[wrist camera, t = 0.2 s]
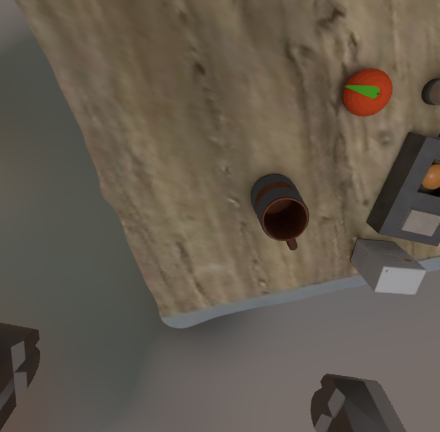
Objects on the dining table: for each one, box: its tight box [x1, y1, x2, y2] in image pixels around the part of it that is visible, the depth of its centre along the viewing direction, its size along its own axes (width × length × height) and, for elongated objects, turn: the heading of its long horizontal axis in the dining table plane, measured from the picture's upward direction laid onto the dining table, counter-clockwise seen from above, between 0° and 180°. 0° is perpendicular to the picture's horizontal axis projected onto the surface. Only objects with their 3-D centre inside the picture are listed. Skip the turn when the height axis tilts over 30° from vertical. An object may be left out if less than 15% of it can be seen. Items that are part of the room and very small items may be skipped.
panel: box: [366, 132, 440, 246], centre depth 53 cm, size 18×12×6 cm, turn 167°
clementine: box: [343, 68, 392, 116], centre depth 46 cm, size 8×7×7 cm
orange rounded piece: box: [421, 163, 440, 189], centre depth 52 cm, size 4×4×2 cm
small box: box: [351, 239, 426, 295], centre depth 57 cm, size 8×6×10 cm
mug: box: [251, 175, 309, 250], centre depth 52 cm, size 9×12×12 cm
